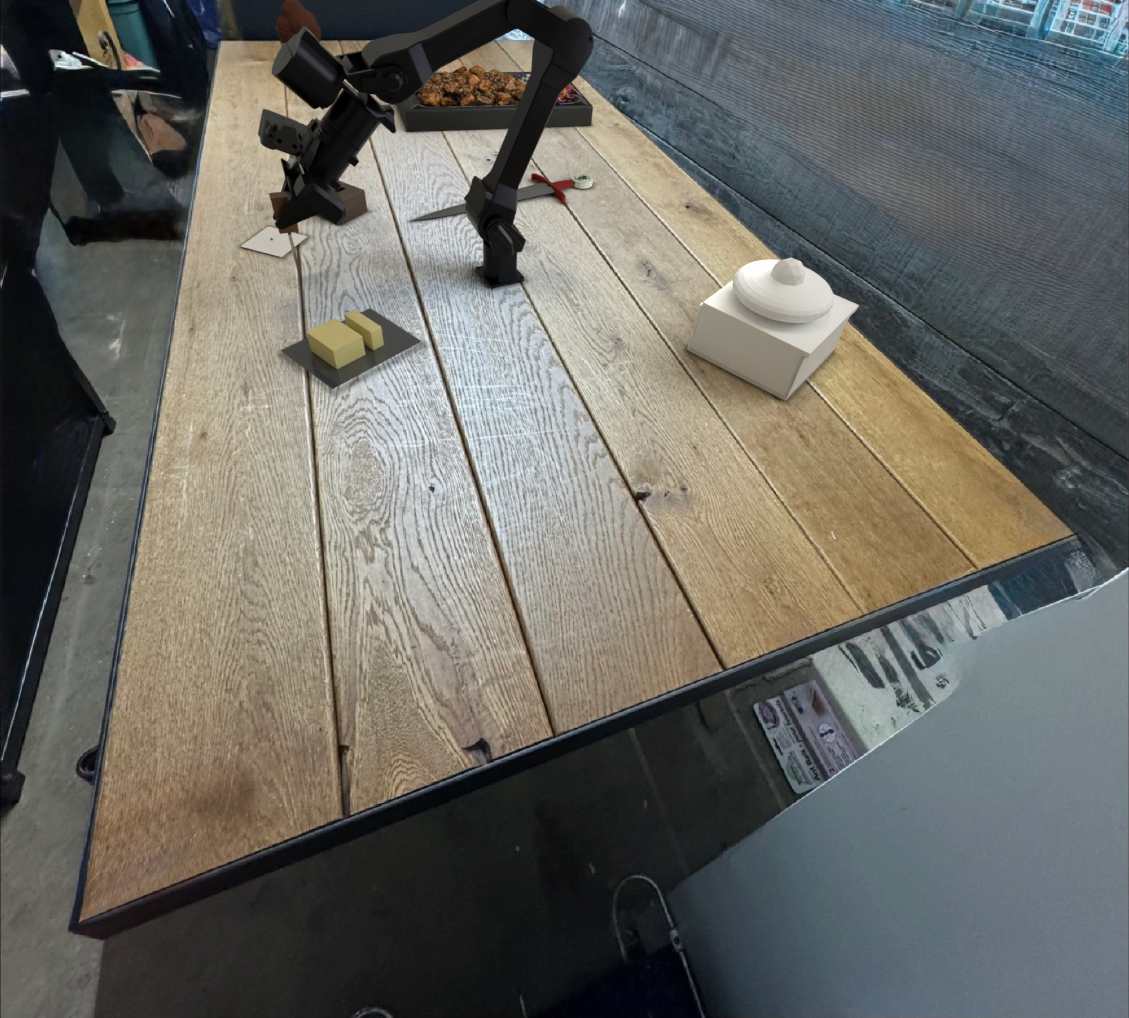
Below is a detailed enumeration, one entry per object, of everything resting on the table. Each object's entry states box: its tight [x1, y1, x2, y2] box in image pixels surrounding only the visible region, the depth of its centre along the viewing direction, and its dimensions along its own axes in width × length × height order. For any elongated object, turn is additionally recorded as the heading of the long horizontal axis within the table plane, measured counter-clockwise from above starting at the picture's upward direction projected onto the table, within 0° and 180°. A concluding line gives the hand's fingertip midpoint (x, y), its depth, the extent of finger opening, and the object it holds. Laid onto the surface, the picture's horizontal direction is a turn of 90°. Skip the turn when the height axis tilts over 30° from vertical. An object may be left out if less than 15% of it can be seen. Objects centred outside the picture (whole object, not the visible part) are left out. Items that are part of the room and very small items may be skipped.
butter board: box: [280, 307, 422, 390], centre depth 96 cm, size 16×12×1 cm
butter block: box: [305, 318, 365, 369], centre depth 93 cm, size 5×6×3 cm
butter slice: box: [343, 309, 384, 350], centre depth 96 cm, size 2×6×3 cm, turn 50°
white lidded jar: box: [686, 257, 860, 402], centre depth 98 cm, size 18×18×16 cm
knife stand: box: [318, 180, 368, 226], centre depth 121 cm, size 7×7×4 cm
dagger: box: [410, 172, 594, 222], centre depth 132 cm, size 12×41×2 cm, turn 113°
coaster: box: [240, 226, 309, 258], centre depth 113 cm, size 8×8×1 cm
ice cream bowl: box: [274, 0, 322, 45], centre depth 163 cm, size 11×11×15 cm
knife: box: [268, 191, 302, 274], centre depth 94 cm, size 3×3×11 cm
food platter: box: [395, 64, 594, 133], centre depth 159 cm, size 45×25×10 cm, turn 108°
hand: (276, 223), depth 92 cm, fingers closed on knife, 2 cm apart
